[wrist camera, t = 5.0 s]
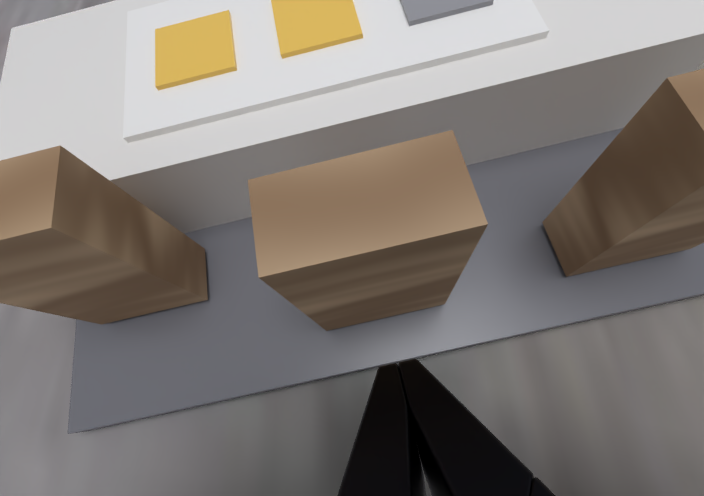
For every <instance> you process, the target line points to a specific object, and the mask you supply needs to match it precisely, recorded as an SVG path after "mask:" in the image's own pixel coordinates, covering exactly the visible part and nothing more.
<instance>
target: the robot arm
mask: <svg viewBox="0 0 704 496" xmlns="http://www.w3.org/2000/svg"><path fill="white" fill-rule="evenodd" d="M398 367H399V368H398ZM399 371H400V372H399ZM418 451H419V452H418ZM419 455H420V456H419ZM420 459H421V461H420ZM421 463H422V466H421ZM422 467H423V470H424V473H425V476H426V479H427V482H428V485H429V488H430V490H431V493H432V496H555V495H554V494H553V493H552V492H551V491H550V490H549V489H548V488H547V487H546V486H545V485H544V484H543V483H542V482H541V481H540V480H539V479H538V478H536V477H535V478H534V476H533V473H532V472H531V471H530V470H529V469H528V468H527V467H526V466H525V465H524V464H523V463H522V462H521V461H520V460H518V459H517V458H516V457H515V456H514V455H513V454H512V453H511V452H510V451H509V450H508V449H507V448H506V447H505V446H504V445H503V444H502V443H501V442H500V441H499V440H498V439H497V438H496V437H495V436H494V435H493V434H492V433H491V432H490V431H489V430H488V429H487V428H486V427H485V426H484V425H483V424H482V423H481V422H480V421H479V420H478V419H477V418H476V417H475V416H474V415H473V414H472V413H471V412H470V411H469V410H468V409H467V408H466V407H465V406H464V405H463V404H462V403H461V402H460V401H459V400H458V399H457V398H456V397H455V396H454V395H453V394H452V393H451V392H450V391H448V390H447V389H446V388H445V387H444V386H443V385H442V384H441V383H440V382H439V381H438V380H437V379H436V378H435V377H434V376H433V375H432V374H431V373H430V372H429V371H428V370H427V369H426V368H425V367H424V366H423V365H422V364H421V363H420V362H419V361H418V360H416V359H411V360H406V361H402V362H399V364H398V365H397V364H396V363H393V364H388V365H384V366H380V367H379V368H378V371H377V374H376V377H375V380H374V383H373V386H372V390H371V393H370V396H369V399H368V402H367V405H366V408H365V411H364V414H363V418H362V421H361V424H360V427H359V430H358V433H357V436H356V439H355V442H354V446H353V449H352V452H351V455H350V458H349V461H348V464H347V467H346V470H345V474H344V477H343V480H342V483H341V486H340V489H339V492H338V495H337V496H426V491H425V483H424V477H423V470H422Z"/></svg>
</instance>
